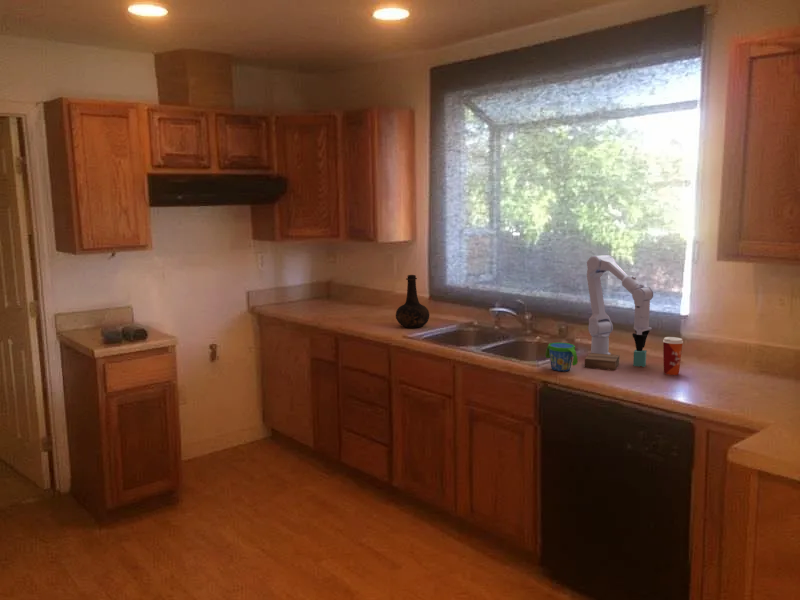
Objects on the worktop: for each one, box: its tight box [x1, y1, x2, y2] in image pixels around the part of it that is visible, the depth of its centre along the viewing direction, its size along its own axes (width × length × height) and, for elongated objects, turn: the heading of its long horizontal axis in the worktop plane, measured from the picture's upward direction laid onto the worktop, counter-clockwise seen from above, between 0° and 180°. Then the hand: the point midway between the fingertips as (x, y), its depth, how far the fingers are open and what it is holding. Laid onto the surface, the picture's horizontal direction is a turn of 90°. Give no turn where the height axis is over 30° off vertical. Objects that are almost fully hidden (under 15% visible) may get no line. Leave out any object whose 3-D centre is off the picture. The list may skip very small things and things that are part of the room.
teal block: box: [632, 349, 647, 368], centre depth 293 cm, size 4×4×6 cm
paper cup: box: [662, 336, 684, 376], centre depth 279 cm, size 8×8×14 cm
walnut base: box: [584, 352, 620, 371], centre depth 293 cm, size 12×12×4 cm
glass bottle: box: [395, 274, 430, 329], centre depth 378 cm, size 18×18×28 cm
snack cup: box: [545, 342, 578, 372], centre depth 285 cm, size 16×10×10 cm
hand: (640, 349), depth 292 cm, fingers open, 7 cm apart
